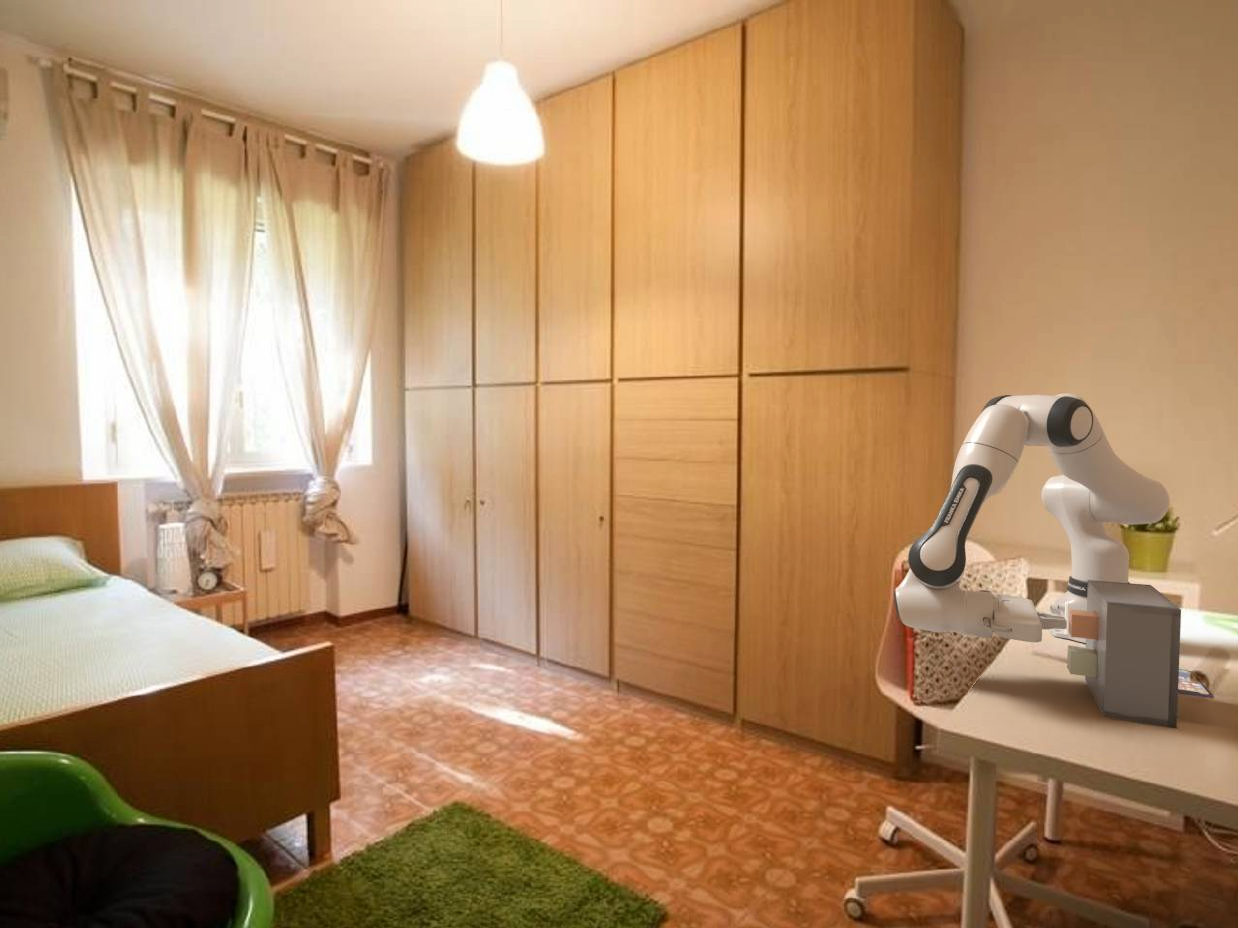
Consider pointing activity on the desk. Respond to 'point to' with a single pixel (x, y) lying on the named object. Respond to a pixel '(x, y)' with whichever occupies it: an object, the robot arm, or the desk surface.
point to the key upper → (1083, 624)
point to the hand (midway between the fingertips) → (1065, 622)
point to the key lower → (1082, 661)
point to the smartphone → (1191, 686)
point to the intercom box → (1135, 653)
